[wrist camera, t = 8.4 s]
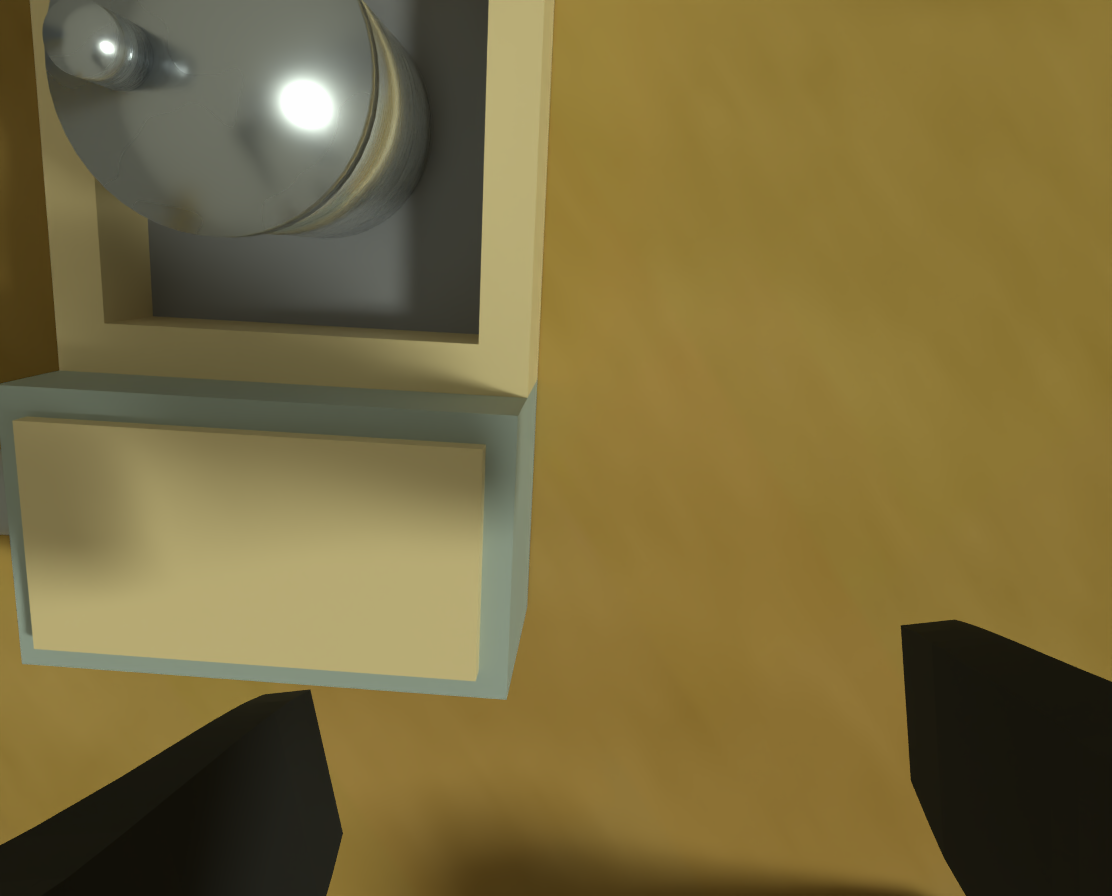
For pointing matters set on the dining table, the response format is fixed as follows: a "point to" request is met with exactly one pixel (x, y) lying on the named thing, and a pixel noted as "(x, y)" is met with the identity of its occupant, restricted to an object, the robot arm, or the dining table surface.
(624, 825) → the dining table surface
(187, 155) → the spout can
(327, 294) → the drawer
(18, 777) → the dining table surface
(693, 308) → the dining table surface
